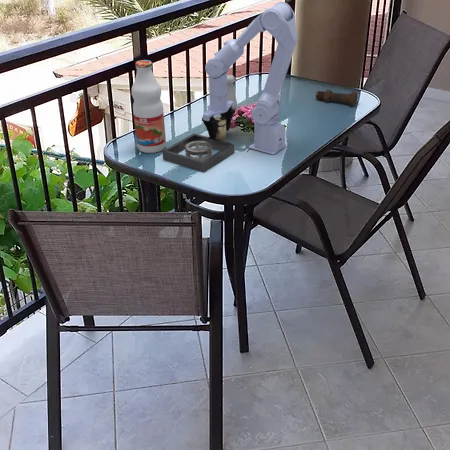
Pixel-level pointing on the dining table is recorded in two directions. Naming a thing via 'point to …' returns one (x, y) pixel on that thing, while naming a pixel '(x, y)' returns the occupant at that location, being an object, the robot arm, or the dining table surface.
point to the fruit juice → (148, 110)
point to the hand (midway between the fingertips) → (219, 134)
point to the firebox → (198, 152)
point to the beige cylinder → (221, 129)
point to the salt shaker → (231, 90)
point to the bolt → (337, 97)
